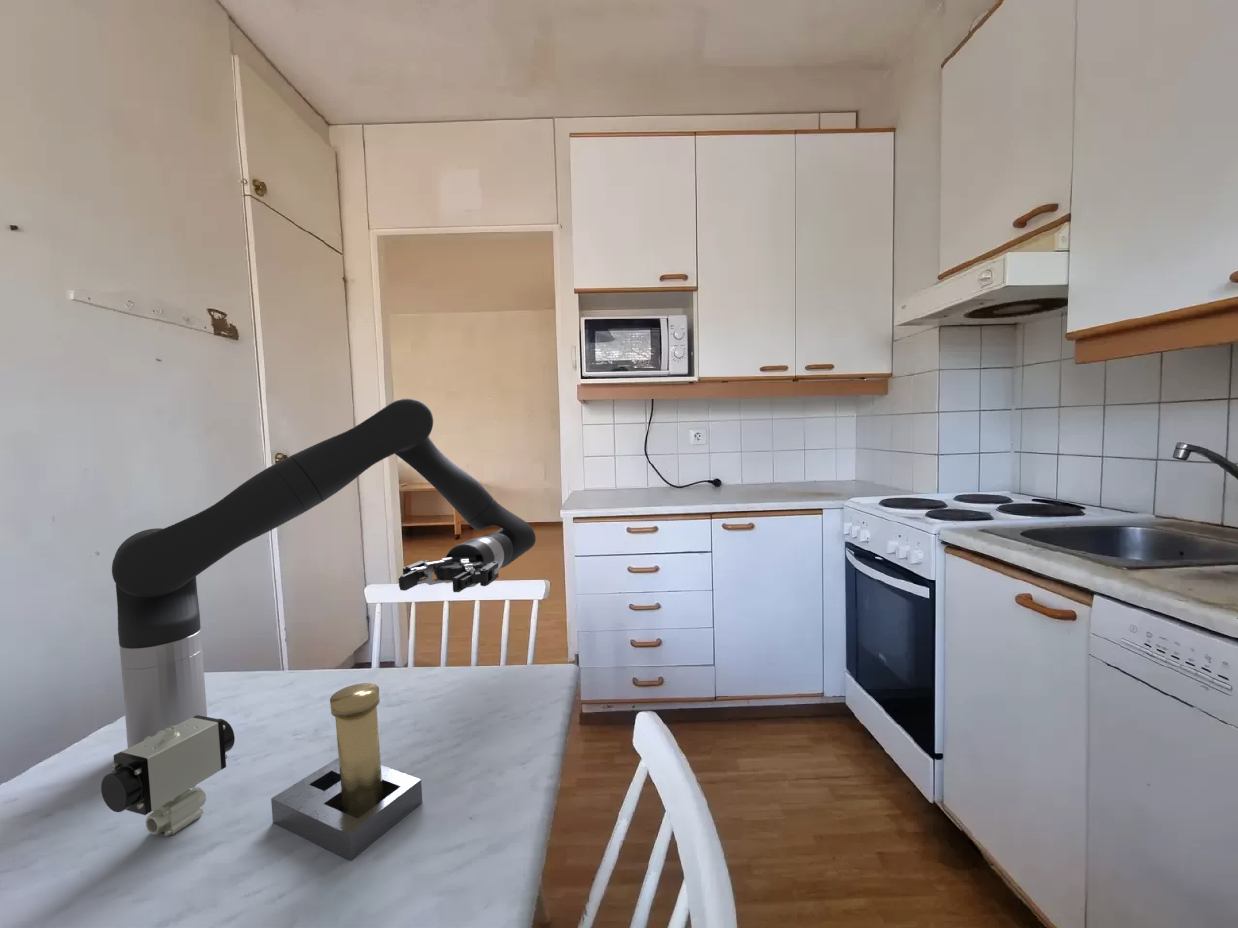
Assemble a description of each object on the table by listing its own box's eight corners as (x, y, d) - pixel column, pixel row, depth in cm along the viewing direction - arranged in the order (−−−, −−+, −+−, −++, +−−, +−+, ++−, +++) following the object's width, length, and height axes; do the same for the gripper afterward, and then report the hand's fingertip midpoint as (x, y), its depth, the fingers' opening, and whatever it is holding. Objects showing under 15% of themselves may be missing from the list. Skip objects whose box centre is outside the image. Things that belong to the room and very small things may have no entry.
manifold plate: (272, 822, 63) (271, 798, 63) (348, 773, 72) (346, 752, 72) (350, 860, 57) (348, 834, 57) (422, 802, 66) (421, 779, 66)
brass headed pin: (330, 822, 62) (320, 699, 61) (368, 794, 67) (359, 679, 66) (359, 835, 60) (349, 708, 59) (397, 805, 65) (388, 687, 64)
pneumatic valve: (240, 795, 68) (233, 705, 68) (133, 866, 57) (124, 759, 57) (209, 787, 70) (203, 700, 69) (100, 855, 59) (91, 751, 58)
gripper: (438, 538, 95) (383, 558, 79) (513, 539, 92) (472, 560, 76) (439, 579, 95) (385, 608, 79) (514, 582, 93) (474, 611, 77)
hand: (428, 584), depth 78 cm, fingers open, 8 cm apart
